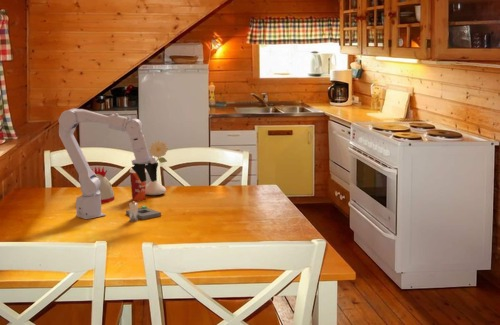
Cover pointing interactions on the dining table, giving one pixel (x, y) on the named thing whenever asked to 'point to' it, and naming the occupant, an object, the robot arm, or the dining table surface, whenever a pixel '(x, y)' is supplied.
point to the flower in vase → (157, 151)
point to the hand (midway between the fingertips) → (149, 181)
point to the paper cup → (137, 186)
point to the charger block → (146, 213)
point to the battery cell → (133, 211)
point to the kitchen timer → (105, 186)
